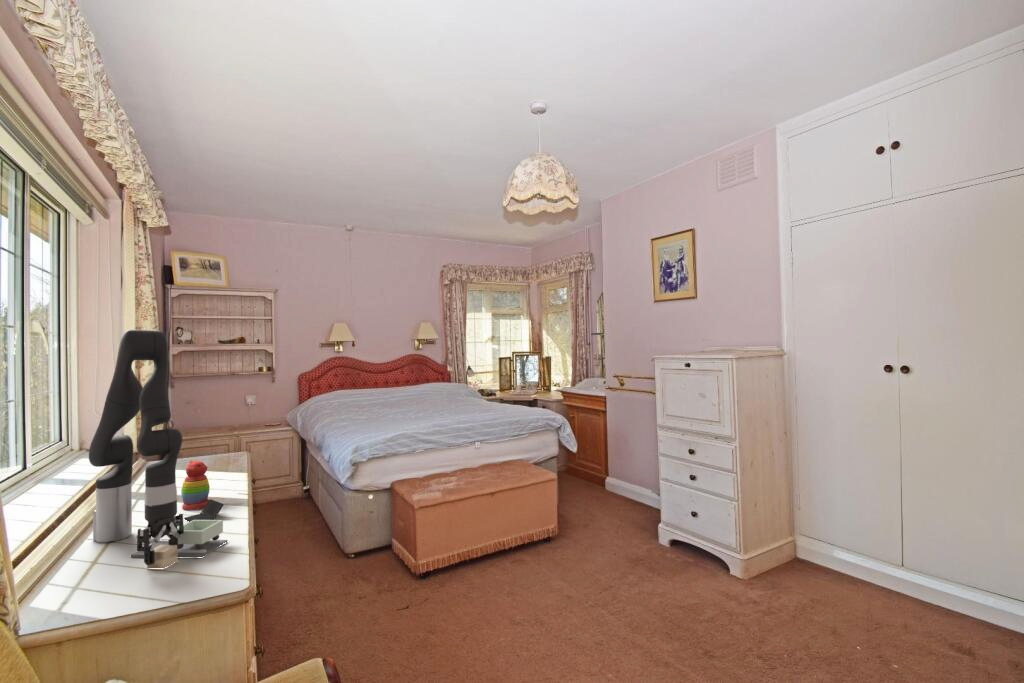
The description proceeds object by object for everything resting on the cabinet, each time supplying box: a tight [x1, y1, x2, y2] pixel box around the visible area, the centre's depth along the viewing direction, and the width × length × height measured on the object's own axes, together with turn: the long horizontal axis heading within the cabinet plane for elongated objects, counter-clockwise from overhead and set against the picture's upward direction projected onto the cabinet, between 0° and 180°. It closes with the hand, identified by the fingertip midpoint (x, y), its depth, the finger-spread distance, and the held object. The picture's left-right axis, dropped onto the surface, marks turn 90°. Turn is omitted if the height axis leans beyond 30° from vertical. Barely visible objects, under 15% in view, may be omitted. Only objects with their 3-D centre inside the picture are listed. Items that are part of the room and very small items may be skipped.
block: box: [146, 545, 178, 569], centre depth 142 cm, size 5×5×5 cm
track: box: [130, 538, 229, 558], centre depth 153 cm, size 22×12×1 cm, turn 86°
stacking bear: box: [180, 460, 211, 511], centre depth 196 cm, size 11×10×18 cm
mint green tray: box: [177, 519, 224, 550], centre depth 152 cm, size 10×10×6 cm
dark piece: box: [183, 498, 225, 522], centre depth 181 cm, size 12×7×10 cm
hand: (161, 558), depth 141 cm, fingers open, 8 cm apart
